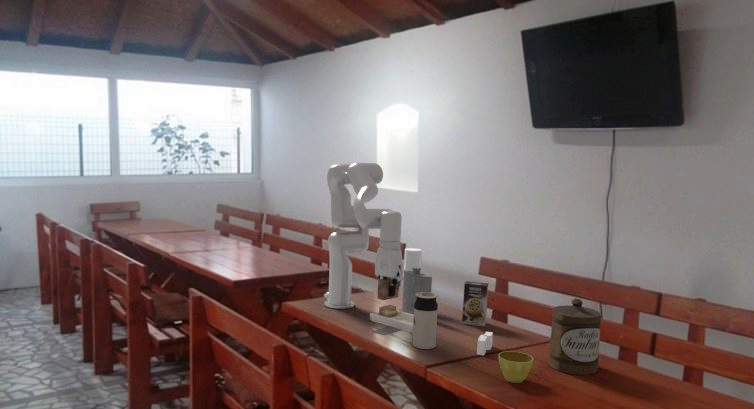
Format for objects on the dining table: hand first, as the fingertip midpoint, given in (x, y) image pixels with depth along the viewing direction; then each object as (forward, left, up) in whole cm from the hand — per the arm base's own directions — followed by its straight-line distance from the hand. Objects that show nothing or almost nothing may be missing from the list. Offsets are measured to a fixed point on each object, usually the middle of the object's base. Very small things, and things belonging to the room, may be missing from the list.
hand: (388, 294), depth 227 cm
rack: (-3, +12, -14) cm, 18 cm away
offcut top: (-11, +12, -11) cm, 20 cm away
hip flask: (-8, +26, -14) cm, 30 cm away
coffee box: (+14, +36, -14) cm, 41 cm away
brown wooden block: (0, 0, -1) cm, 1 cm away
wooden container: (+64, +19, -14) cm, 68 cm away
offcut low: (-11, +12, -14) cm, 21 cm away
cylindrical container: (-18, +35, -14) cm, 41 cm away
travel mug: (+20, -2, -14) cm, 24 cm away
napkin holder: (+36, +11, -15) cm, 41 cm away
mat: (0, 0, -14) cm, 14 cm away
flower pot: (+58, -6, -14) cm, 60 cm away
